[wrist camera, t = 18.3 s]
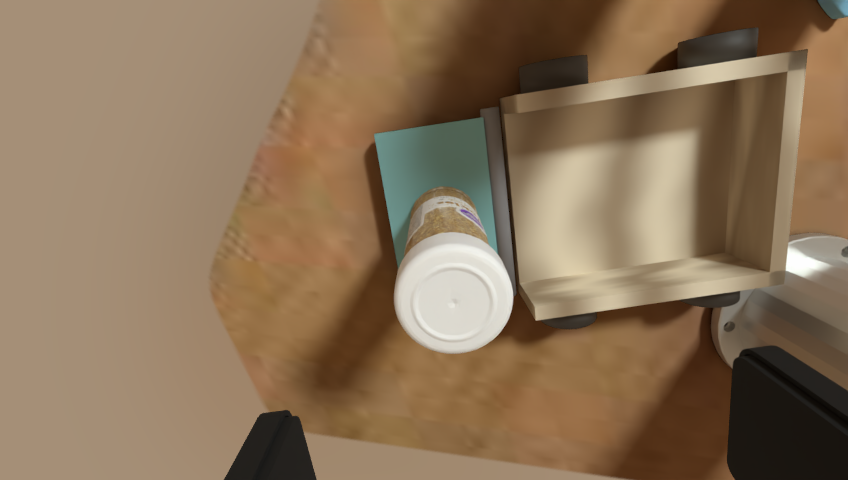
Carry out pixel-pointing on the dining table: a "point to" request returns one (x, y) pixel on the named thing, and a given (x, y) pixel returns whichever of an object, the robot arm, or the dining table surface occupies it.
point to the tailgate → (448, 175)
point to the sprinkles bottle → (450, 276)
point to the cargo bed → (653, 179)
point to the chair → (835, 8)
